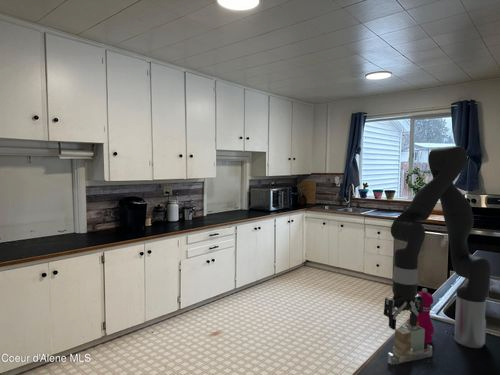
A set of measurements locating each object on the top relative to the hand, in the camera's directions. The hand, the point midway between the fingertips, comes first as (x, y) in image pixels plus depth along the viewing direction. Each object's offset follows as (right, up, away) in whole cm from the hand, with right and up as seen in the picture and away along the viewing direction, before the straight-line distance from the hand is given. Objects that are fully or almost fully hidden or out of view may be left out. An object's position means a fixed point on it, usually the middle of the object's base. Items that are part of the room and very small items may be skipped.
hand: (402, 327), depth 115 cm
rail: (+3, -12, +2) cm, 13 cm away
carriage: (0, -11, +1) cm, 11 cm away
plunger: (+7, -7, +9) cm, 13 cm away
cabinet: (+7, -12, +9) cm, 16 cm away
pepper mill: (+15, -11, +15) cm, 24 cm away
